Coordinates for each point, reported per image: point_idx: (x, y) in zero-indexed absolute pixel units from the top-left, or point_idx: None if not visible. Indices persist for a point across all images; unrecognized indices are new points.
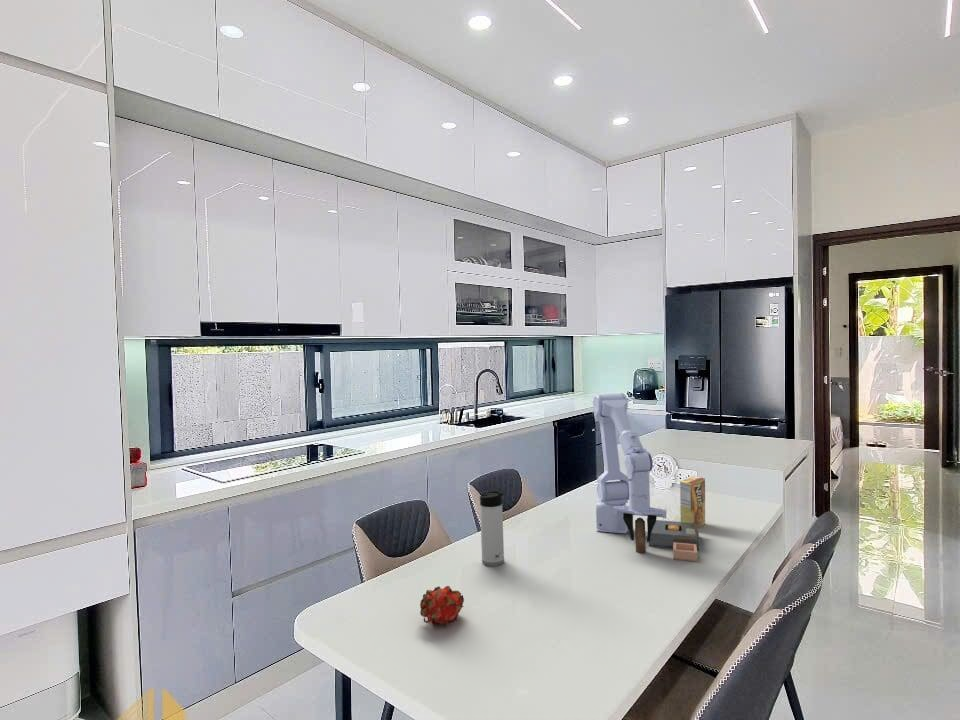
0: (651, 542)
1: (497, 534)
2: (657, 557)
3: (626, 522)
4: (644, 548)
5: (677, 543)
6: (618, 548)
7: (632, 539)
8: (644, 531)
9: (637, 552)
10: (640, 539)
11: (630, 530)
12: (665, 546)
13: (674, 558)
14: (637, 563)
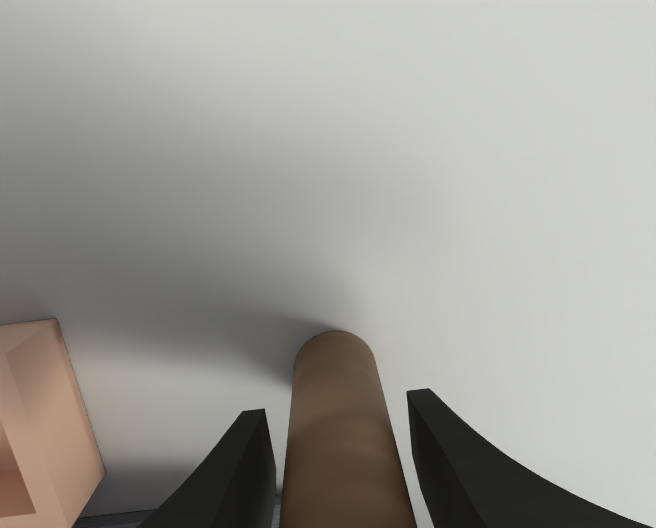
0: (274, 518)
1: None
2: (184, 307)
3: (602, 520)
4: (298, 370)
5: (26, 517)
6: (518, 368)
7: (418, 393)
8: (284, 500)
9: (356, 338)
10: (330, 403)
11: (470, 448)
12: None
13: (43, 322)
14: (313, 110)
